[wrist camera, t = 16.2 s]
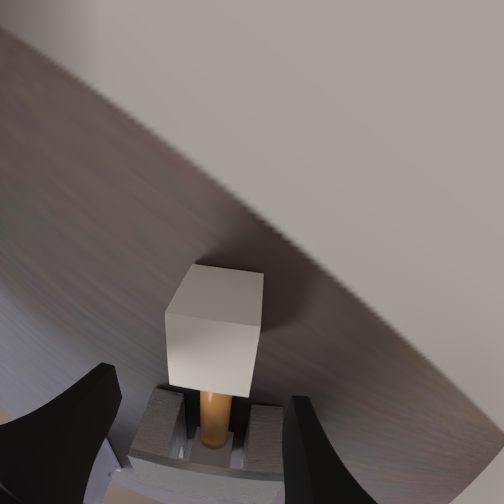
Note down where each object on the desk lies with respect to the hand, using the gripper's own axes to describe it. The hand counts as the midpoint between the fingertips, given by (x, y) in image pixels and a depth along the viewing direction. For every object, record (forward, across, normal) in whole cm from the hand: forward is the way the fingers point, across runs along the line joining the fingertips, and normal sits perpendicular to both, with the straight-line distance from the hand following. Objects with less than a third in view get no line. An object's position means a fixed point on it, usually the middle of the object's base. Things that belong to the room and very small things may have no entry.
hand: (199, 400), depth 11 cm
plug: (+7, 0, +7) cm, 10 cm away
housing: (+7, 0, +12) cm, 14 cm away
